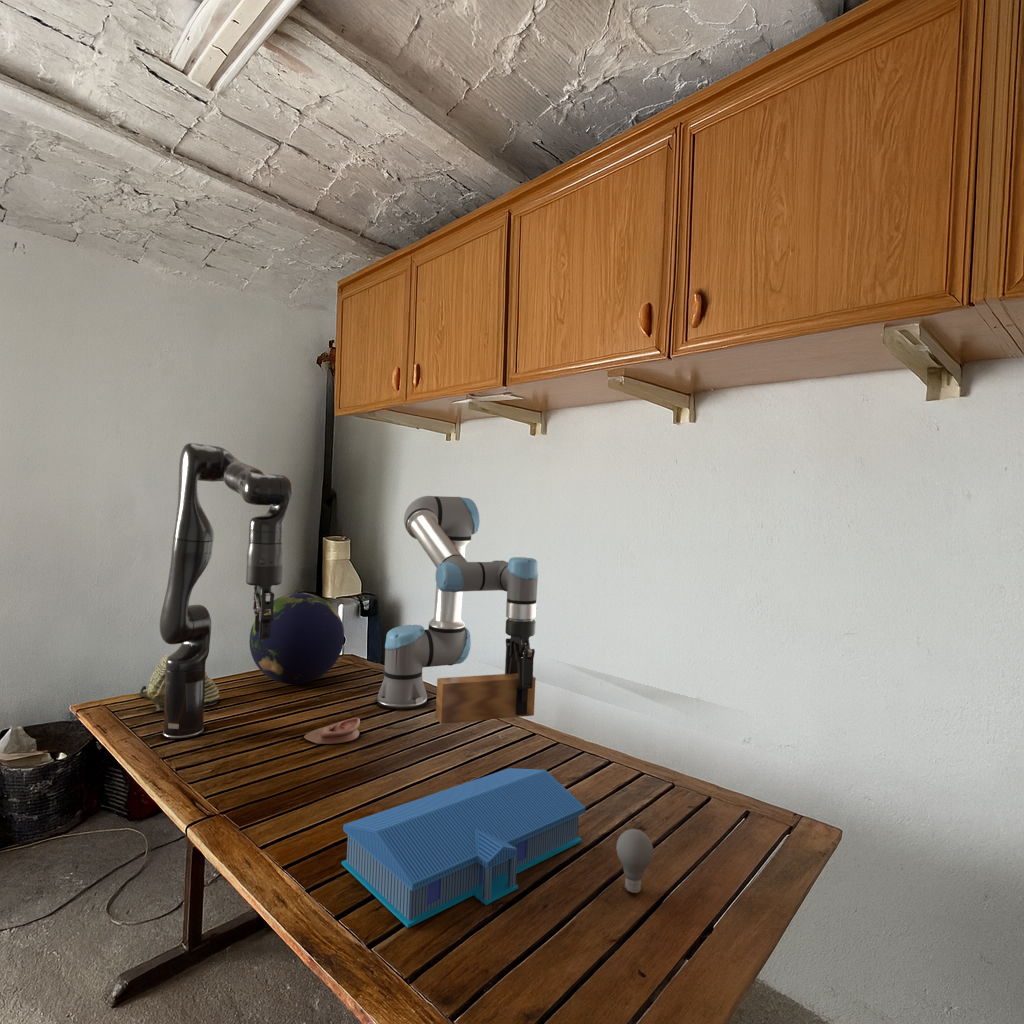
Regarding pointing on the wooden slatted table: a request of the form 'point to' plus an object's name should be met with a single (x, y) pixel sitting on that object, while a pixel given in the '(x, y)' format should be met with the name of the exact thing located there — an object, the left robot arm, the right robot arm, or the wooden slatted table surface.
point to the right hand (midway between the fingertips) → (516, 710)
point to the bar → (479, 698)
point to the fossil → (158, 687)
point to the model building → (462, 842)
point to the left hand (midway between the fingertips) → (262, 635)
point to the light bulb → (634, 857)
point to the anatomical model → (335, 732)
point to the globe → (299, 639)
